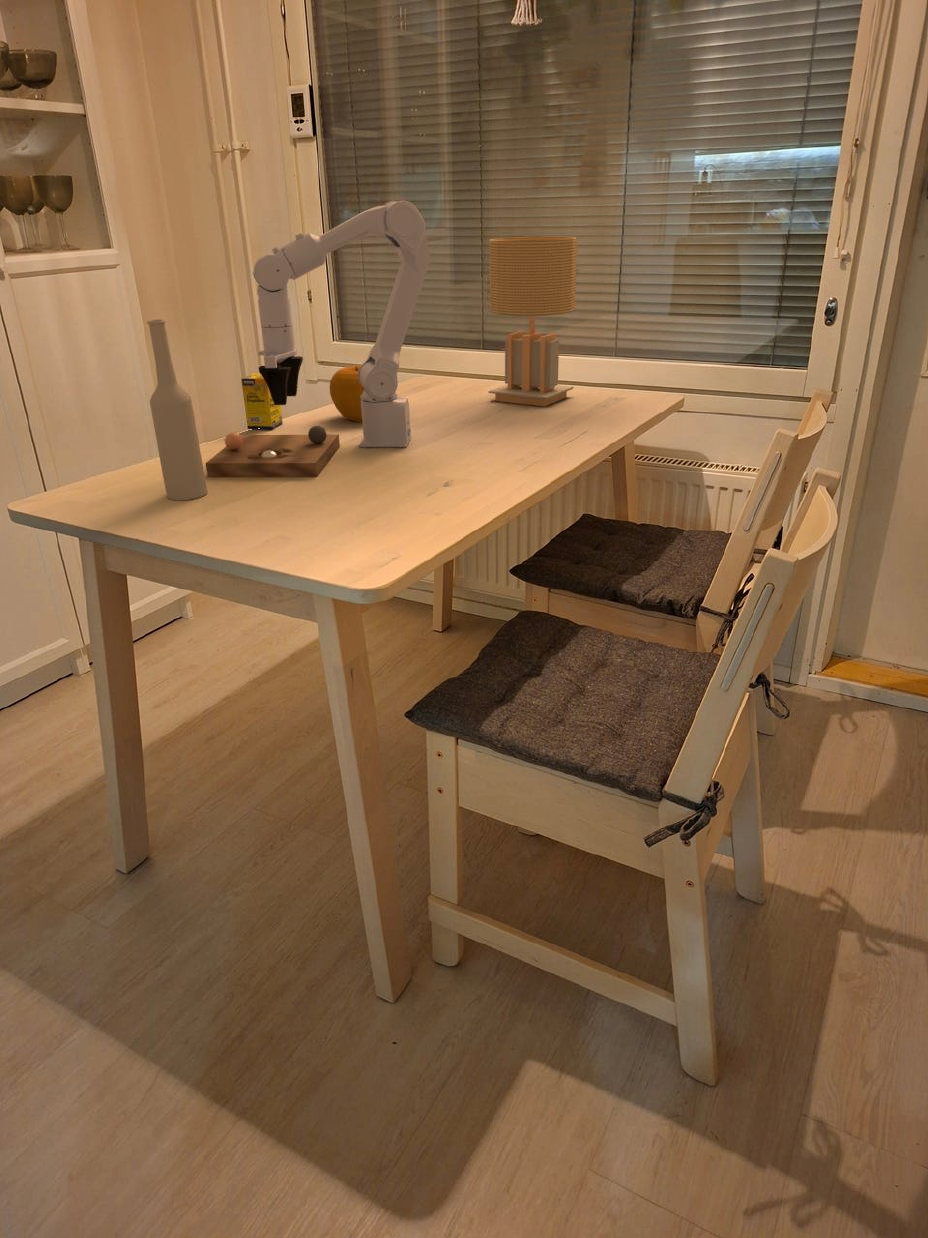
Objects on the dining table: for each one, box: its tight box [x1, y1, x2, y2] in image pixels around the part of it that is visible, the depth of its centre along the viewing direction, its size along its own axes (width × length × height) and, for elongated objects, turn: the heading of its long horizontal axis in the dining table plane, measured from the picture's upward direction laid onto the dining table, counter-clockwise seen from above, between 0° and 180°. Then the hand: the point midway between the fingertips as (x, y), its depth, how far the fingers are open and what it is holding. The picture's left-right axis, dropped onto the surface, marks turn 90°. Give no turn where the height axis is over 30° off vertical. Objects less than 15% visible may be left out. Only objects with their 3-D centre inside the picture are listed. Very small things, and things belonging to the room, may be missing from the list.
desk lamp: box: [488, 236, 578, 407], centre depth 195 cm, size 20×20×35 cm
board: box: [204, 433, 341, 478], centre depth 159 cm, size 20×20×2 cm
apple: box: [329, 365, 364, 423], centre depth 186 cm, size 13×13×11 cm
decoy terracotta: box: [224, 432, 243, 450], centre depth 157 cm, size 3×3×3 cm
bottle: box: [146, 318, 208, 502], centre depth 136 cm, size 7×7×28 cm
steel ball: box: [261, 450, 278, 457], centre depth 155 cm, size 3×3×3 cm
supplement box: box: [240, 372, 283, 431], centre depth 182 cm, size 6×6×11 cm
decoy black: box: [307, 425, 327, 444], centre depth 159 cm, size 3×3×3 cm
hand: (285, 400), depth 161 cm, fingers open, 7 cm apart
